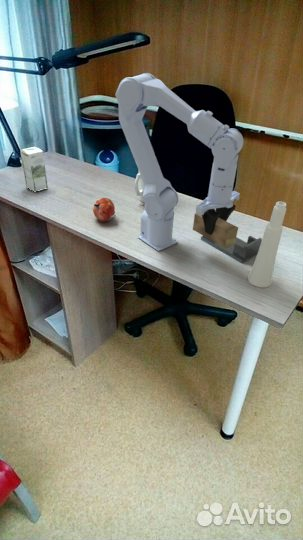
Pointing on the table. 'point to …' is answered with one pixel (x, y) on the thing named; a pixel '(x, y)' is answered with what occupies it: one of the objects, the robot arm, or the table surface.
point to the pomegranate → (104, 209)
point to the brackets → (238, 248)
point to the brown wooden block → (217, 231)
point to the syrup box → (34, 168)
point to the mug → (141, 187)
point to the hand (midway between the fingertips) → (213, 230)
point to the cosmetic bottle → (268, 249)
